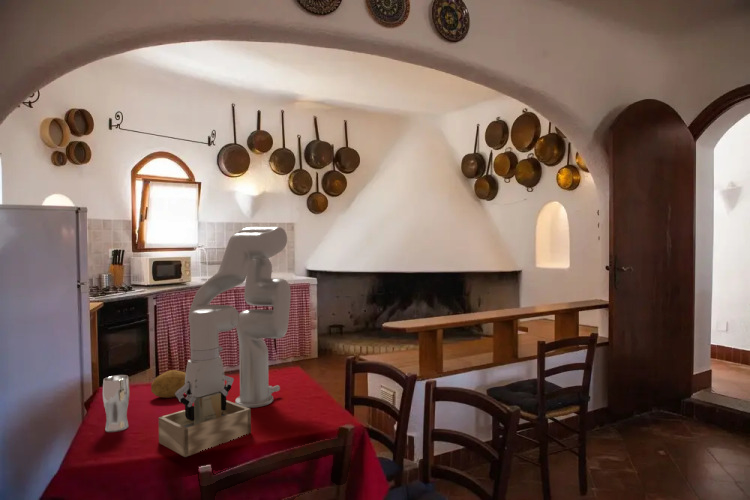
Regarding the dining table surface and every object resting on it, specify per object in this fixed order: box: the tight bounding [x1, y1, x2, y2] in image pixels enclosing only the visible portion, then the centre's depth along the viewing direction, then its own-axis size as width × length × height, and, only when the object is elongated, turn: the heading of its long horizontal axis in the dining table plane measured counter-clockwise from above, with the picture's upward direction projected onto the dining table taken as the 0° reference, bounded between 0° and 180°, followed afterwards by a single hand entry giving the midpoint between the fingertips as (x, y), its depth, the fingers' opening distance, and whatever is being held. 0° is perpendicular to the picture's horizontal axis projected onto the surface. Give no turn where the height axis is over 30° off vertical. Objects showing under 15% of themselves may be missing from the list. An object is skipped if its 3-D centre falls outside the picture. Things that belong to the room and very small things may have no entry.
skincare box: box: [193, 392, 221, 425], centre depth 137 cm, size 6×4×12 cm
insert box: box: [158, 399, 252, 458], centre depth 136 cm, size 20×14×7 cm
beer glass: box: [102, 374, 130, 433], centre depth 144 cm, size 7×7×15 cm
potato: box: [150, 369, 186, 399], centre depth 173 cm, size 10×13×9 cm
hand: (206, 414), depth 137 cm, fingers open, 9 cm apart
